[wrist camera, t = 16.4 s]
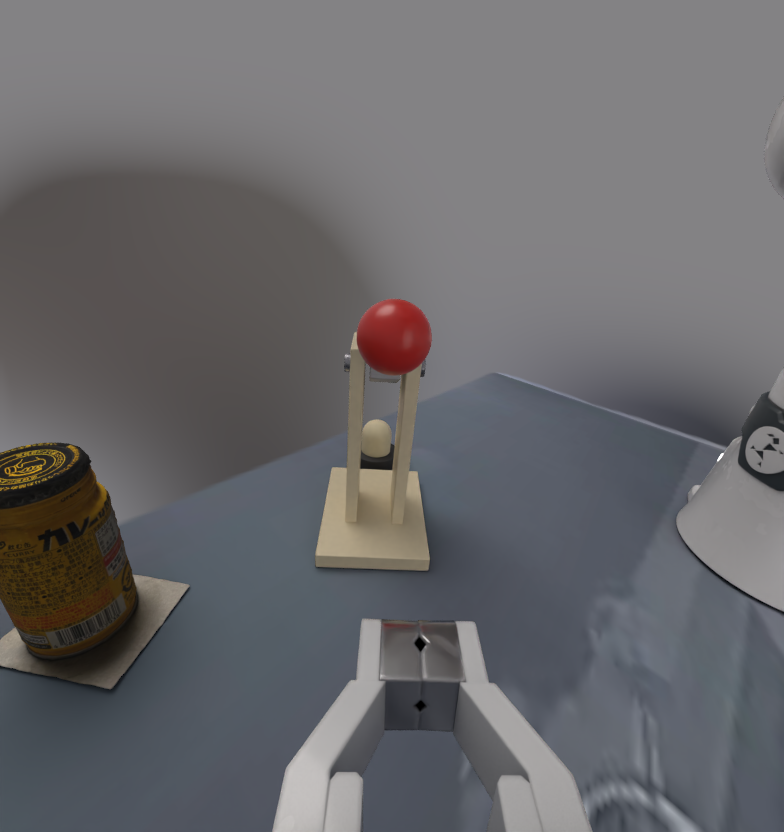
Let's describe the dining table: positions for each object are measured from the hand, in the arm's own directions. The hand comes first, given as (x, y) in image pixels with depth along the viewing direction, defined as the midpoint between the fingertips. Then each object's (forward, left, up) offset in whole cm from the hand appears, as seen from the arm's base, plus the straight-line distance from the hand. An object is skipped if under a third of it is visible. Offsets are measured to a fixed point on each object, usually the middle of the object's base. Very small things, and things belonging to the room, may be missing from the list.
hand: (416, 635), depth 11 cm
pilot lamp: (+1, -31, -15) cm, 34 cm away
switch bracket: (+1, -22, -15) cm, 27 cm away
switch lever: (+1, -16, +1) cm, 16 cm away
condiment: (+19, -11, -15) cm, 26 cm away
